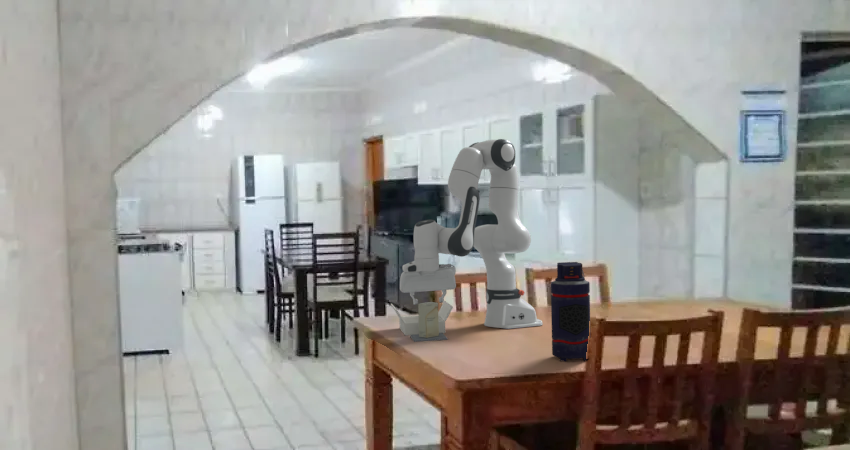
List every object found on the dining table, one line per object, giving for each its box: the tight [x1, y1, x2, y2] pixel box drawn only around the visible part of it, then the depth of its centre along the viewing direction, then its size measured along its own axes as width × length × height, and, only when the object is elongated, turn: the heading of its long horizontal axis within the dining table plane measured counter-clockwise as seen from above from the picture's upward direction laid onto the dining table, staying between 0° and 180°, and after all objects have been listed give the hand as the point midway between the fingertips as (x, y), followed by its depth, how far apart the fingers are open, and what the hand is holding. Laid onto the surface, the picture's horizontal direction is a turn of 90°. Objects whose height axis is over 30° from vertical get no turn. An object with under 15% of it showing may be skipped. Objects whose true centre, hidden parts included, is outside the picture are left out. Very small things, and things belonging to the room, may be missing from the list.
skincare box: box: [417, 301, 439, 338], centre depth 289 cm, size 6×4×12 cm
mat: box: [409, 333, 448, 343], centre depth 290 cm, size 12×10×1 cm
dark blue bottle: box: [550, 261, 591, 363], centre depth 252 cm, size 14×12×30 cm
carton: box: [390, 300, 454, 336], centre depth 304 cm, size 22×15×10 cm
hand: (428, 303), depth 289 cm, fingers open, 8 cm apart
